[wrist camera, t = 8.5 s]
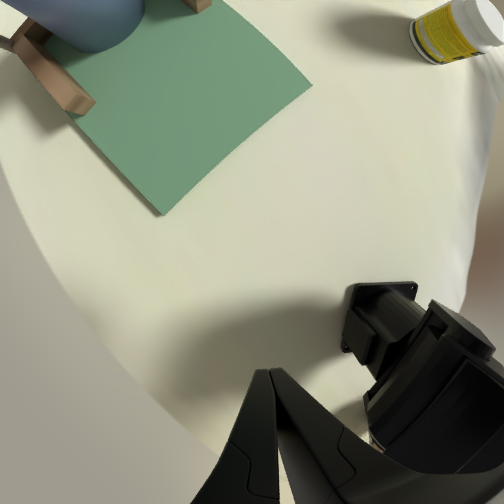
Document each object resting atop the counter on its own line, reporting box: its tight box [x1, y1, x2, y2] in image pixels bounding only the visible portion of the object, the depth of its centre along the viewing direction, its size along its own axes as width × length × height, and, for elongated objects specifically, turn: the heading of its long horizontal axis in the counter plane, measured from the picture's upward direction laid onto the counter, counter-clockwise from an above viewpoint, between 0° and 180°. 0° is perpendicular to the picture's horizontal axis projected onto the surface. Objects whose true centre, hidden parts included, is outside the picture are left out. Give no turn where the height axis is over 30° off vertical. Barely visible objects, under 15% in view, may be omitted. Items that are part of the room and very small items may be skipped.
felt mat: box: [43, 0, 313, 216], centre depth 14 cm, size 19×13×1 cm
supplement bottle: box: [409, 0, 504, 65], centre depth 12 cm, size 5×5×8 cm
